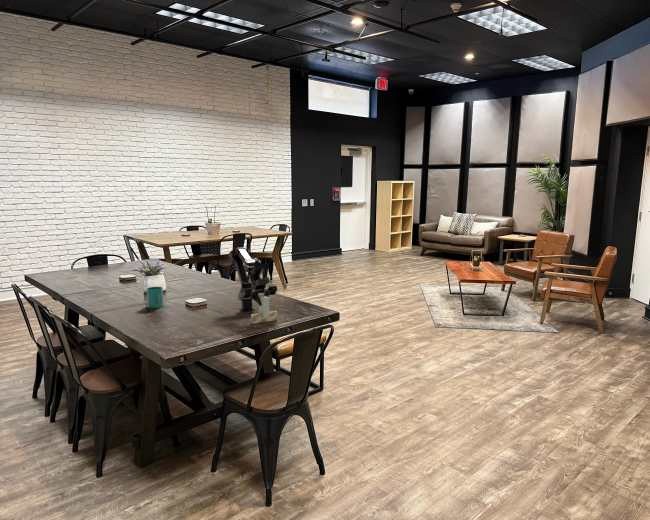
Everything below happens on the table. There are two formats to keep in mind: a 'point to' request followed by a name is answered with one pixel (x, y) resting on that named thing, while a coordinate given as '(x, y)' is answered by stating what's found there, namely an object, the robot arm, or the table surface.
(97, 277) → the table surface
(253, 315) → the birch rail
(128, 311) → the table surface
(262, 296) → the tall green pillar
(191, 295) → the table surface
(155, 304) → the cup
